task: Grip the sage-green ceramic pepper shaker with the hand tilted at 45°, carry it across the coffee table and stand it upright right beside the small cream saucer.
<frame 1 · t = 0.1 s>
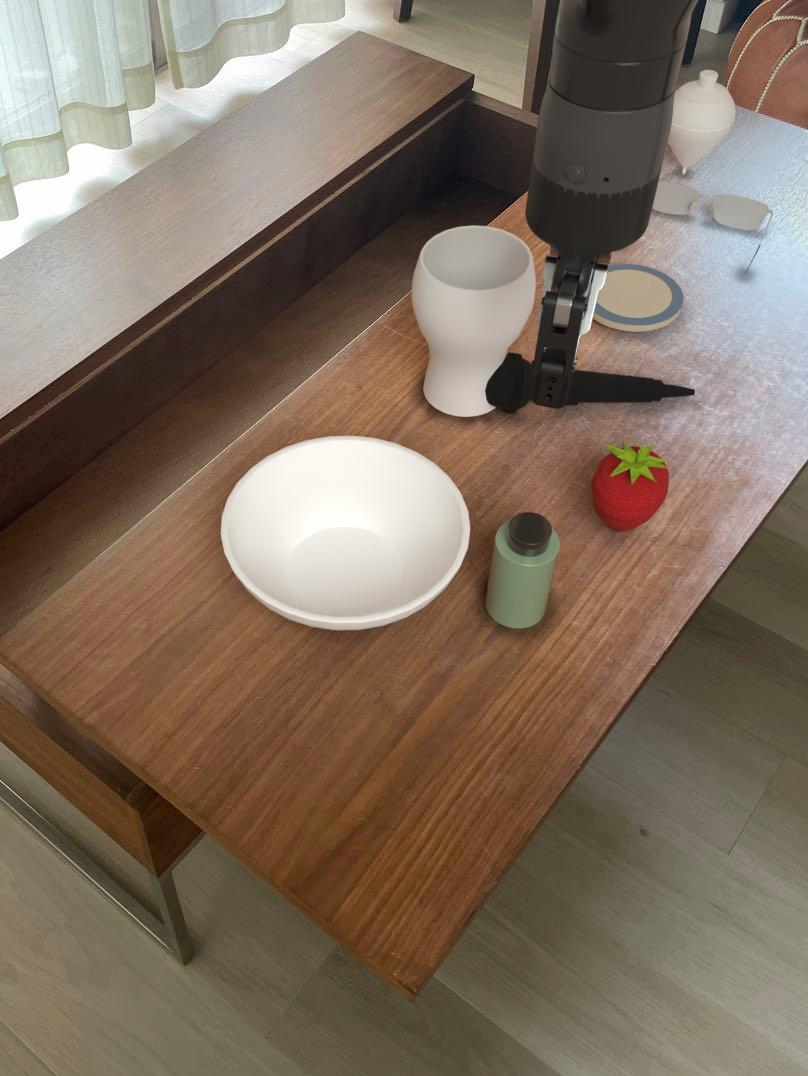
hand: (559, 364, 77), 20 cm above the table, tool pointing down, fingers open, 8 cm apart
spinning top: (682, 175, 127), on the table
pepper shaker: (515, 604, 88), on the table
strawberry: (617, 529, 93), on the table
cup: (463, 391, 105), on the table, touching microphone
bowl: (344, 577, 91), on the table
eyeglasses: (690, 241, 119), on the table
saucer: (628, 305, 112), on the table
microphone: (581, 408, 103), on the table, touching cup
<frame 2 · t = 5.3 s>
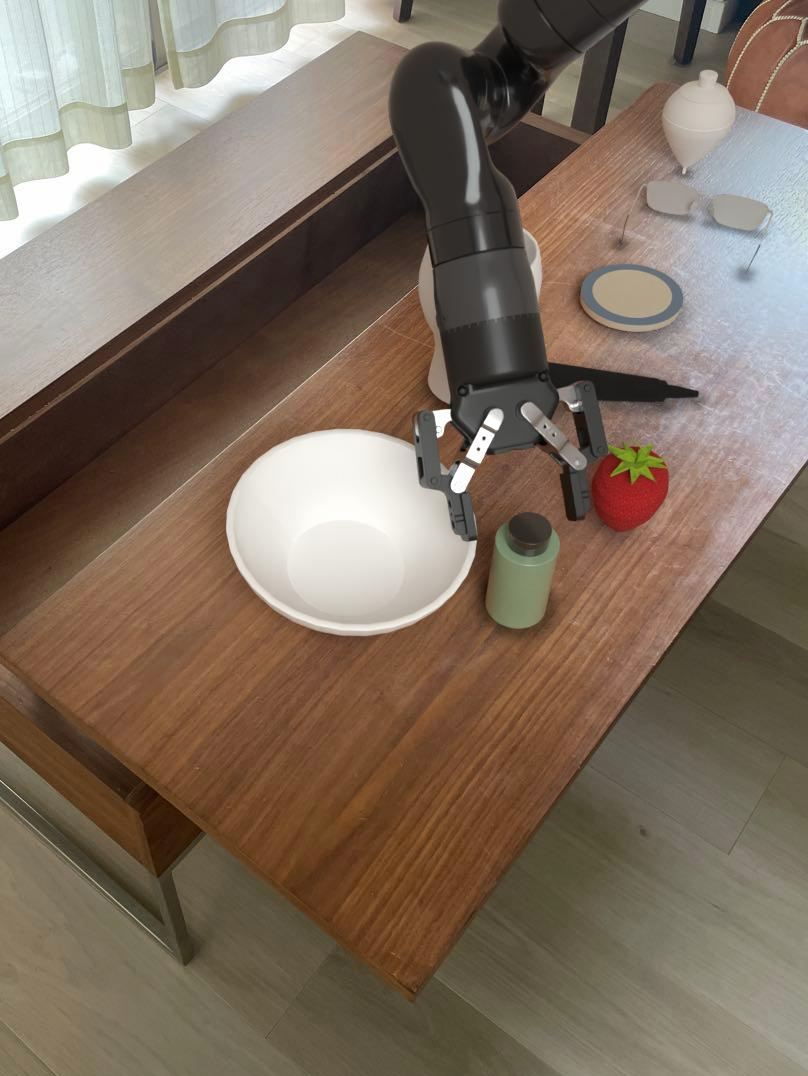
hand: (523, 530, 84), 7 cm above the table, tool tilted 45°, fingers open, 8 cm apart
cup: (468, 383, 105), on the table, touching microphone
bowl: (344, 573, 91), on the table, touching gripper
microphone: (584, 405, 103), on the table, touching cup
everything else where it was.
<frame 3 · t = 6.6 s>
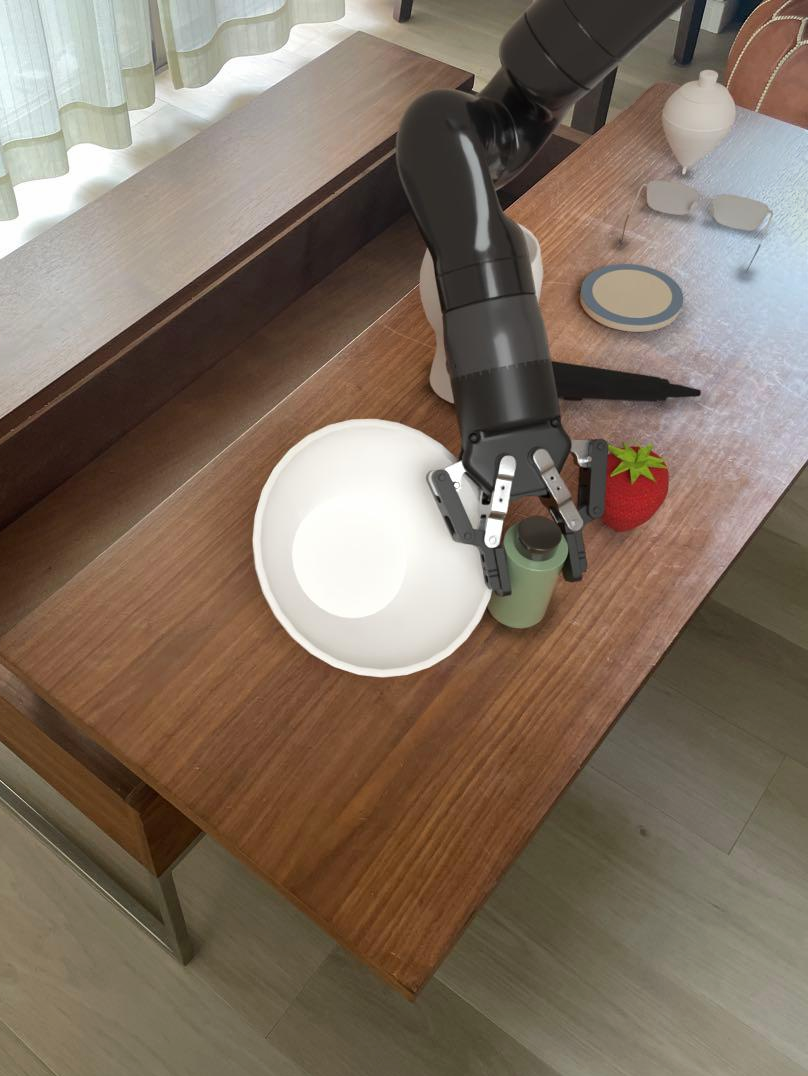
hand: (538, 586, 83), 5 cm above the table, tool tilted 45°, fingers closed on pepper shaker, 5 cm apart
pepper shaker: (515, 603, 88), on the table, tilted 5°, touching gripper
bowl: (345, 559, 88), point 3 cm above the table, touching gripper, hand
everything else where it was.
when the fingers open (5 cm above the table, at t = 20.1 s): pepper shaker stays where it is, on the table.
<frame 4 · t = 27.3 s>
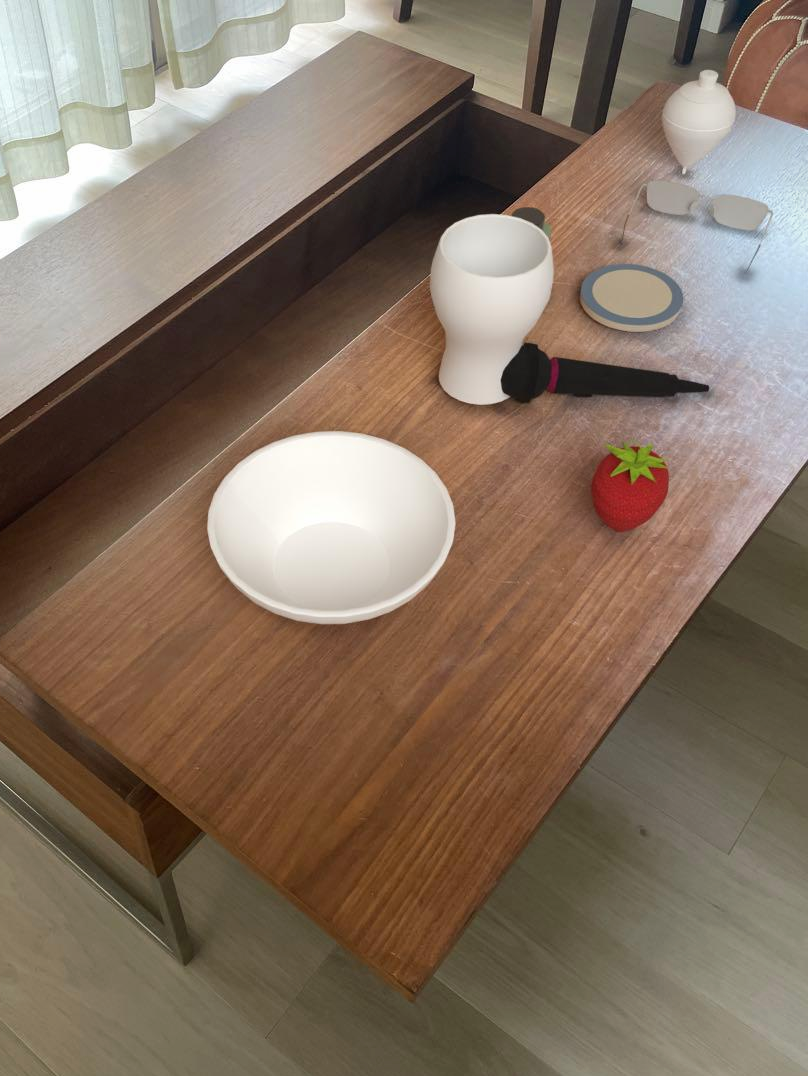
pepper shaker: (516, 295, 114), on the table
bowl: (331, 572, 92), on the table
microphone: (595, 400, 103), on the table, touching cup
at the end: pepper shaker inside the target area on the table beside the saucer (0.4 cm from its centre), on the table; pepper shaker tilted 0°; the gripper is holding nothing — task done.
